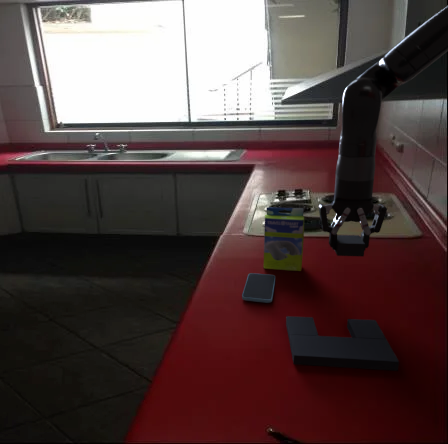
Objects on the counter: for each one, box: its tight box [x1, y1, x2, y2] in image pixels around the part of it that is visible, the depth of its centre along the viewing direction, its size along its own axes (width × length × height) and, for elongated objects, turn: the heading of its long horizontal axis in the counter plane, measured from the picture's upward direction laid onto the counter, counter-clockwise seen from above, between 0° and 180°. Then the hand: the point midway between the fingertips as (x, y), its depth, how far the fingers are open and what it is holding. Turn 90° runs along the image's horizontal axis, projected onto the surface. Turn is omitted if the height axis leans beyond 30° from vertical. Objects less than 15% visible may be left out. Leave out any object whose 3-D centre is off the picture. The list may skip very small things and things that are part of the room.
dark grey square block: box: [334, 234, 366, 257], centre depth 95 cm, size 6×6×3 cm
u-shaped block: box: [285, 315, 400, 372], centre depth 83 cm, size 18×14×2 cm
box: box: [262, 206, 305, 272], centre depth 116 cm, size 10×4×17 cm, turn 73°
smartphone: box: [241, 272, 276, 304], centre depth 107 cm, size 7×1×15 cm
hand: (348, 248), depth 95 cm, fingers closed on dark grey square block, 5 cm apart
